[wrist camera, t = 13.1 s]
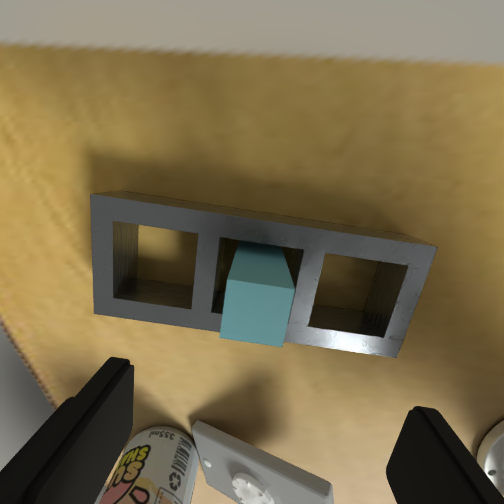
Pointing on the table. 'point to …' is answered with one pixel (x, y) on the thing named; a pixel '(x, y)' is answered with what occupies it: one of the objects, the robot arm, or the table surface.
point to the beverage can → (155, 469)
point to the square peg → (257, 295)
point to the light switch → (254, 472)
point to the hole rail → (261, 231)
